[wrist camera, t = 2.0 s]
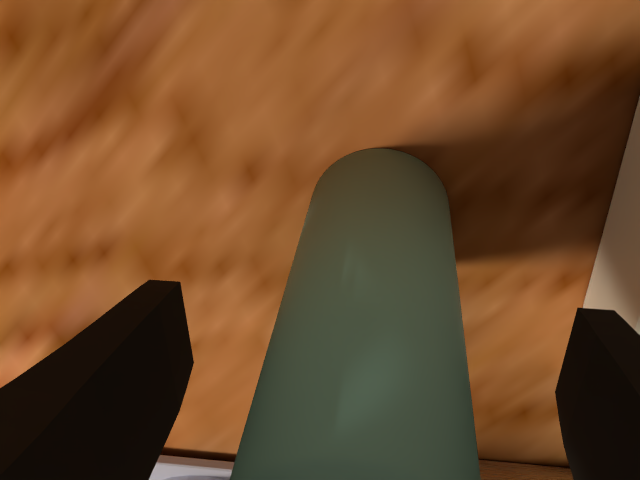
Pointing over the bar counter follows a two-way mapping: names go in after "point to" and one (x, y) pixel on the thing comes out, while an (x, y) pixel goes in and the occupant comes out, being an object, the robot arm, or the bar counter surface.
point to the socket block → (621, 242)
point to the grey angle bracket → (521, 471)
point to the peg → (367, 337)
